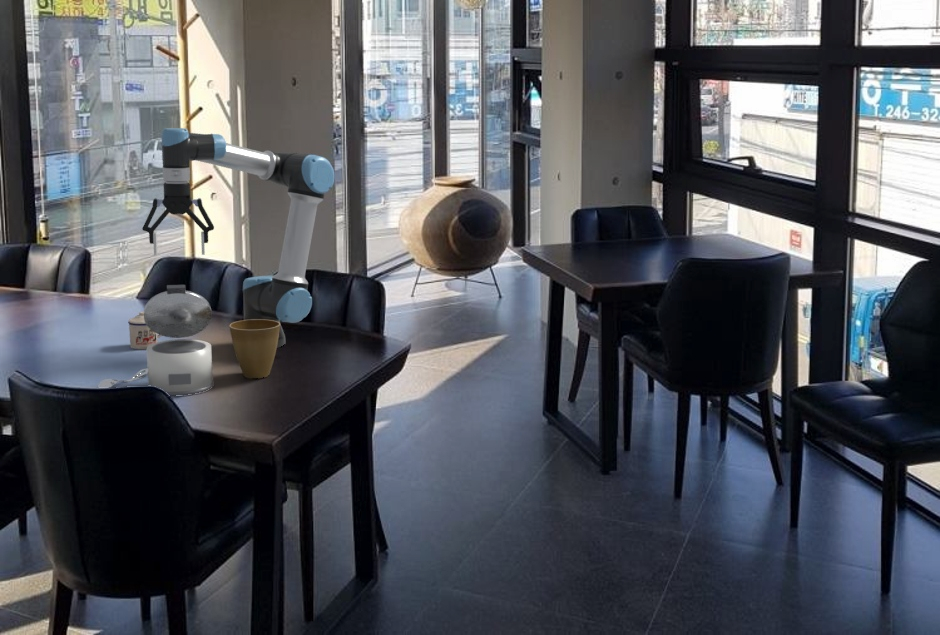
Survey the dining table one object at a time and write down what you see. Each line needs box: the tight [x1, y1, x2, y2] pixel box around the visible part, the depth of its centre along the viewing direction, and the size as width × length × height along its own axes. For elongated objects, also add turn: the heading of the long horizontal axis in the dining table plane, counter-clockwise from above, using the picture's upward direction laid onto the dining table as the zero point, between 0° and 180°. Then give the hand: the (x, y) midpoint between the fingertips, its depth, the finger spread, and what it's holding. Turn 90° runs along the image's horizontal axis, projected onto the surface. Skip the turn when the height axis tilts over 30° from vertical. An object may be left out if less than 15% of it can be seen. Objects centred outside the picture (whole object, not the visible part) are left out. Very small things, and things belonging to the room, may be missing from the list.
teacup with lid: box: [128, 311, 163, 351], centre depth 362 cm, size 12×9×12 cm
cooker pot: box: [146, 338, 215, 397], centre depth 318 cm, size 19×19×12 cm
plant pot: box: [229, 319, 281, 379], centre depth 330 cm, size 15×15×16 cm
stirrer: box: [97, 368, 148, 388], centre depth 323 cm, size 20×4×5 cm
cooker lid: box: [143, 284, 213, 339], centre depth 318 cm, size 19×21×2 cm
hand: (179, 254), depth 324 cm, fingers open, 13 cm apart
